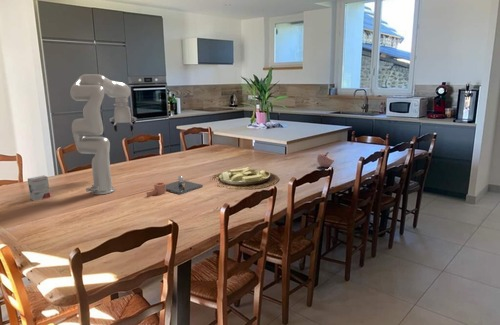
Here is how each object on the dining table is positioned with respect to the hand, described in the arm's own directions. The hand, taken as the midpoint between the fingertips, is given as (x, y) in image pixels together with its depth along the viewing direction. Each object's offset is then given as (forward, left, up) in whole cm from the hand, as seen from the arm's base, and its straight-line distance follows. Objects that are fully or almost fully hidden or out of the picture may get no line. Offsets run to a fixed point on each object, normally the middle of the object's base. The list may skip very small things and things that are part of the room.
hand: (124, 131), depth 244 cm
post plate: (-2, -54, -29) cm, 61 cm away
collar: (-18, -51, -29) cm, 61 cm away
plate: (+35, -73, -30) cm, 86 cm away
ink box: (-60, -6, -29) cm, 67 cm away
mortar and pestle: (+95, -101, -29) cm, 142 cm away
